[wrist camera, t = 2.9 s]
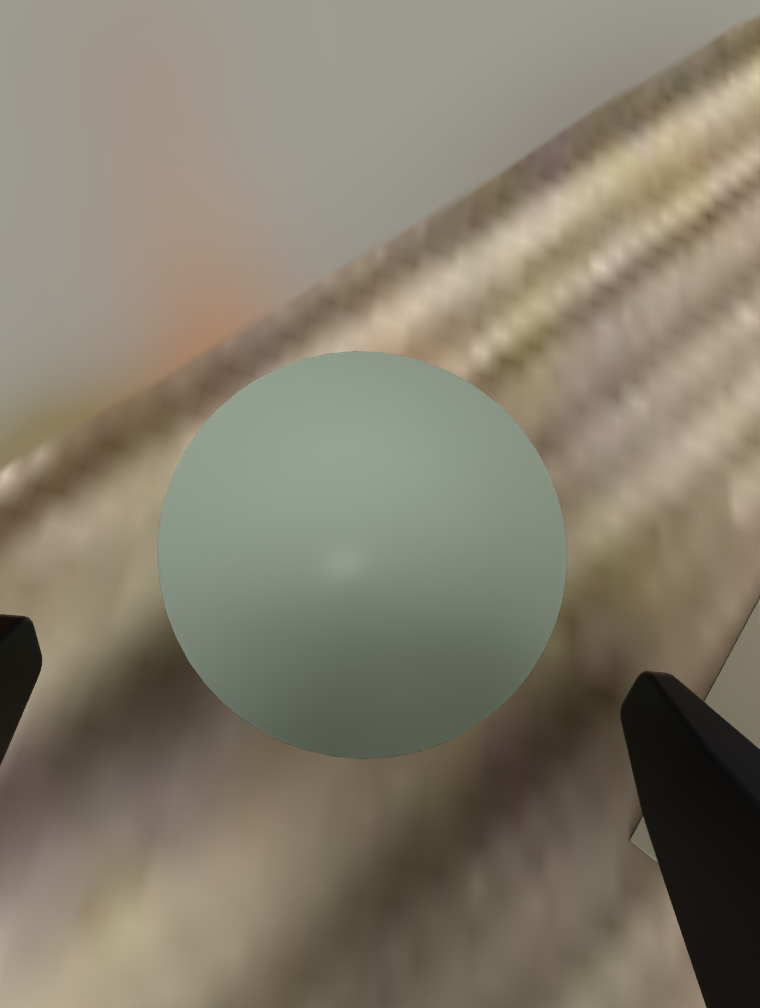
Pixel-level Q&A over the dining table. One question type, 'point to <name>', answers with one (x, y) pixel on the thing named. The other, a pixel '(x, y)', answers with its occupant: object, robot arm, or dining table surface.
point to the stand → (731, 699)
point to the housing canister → (362, 555)
